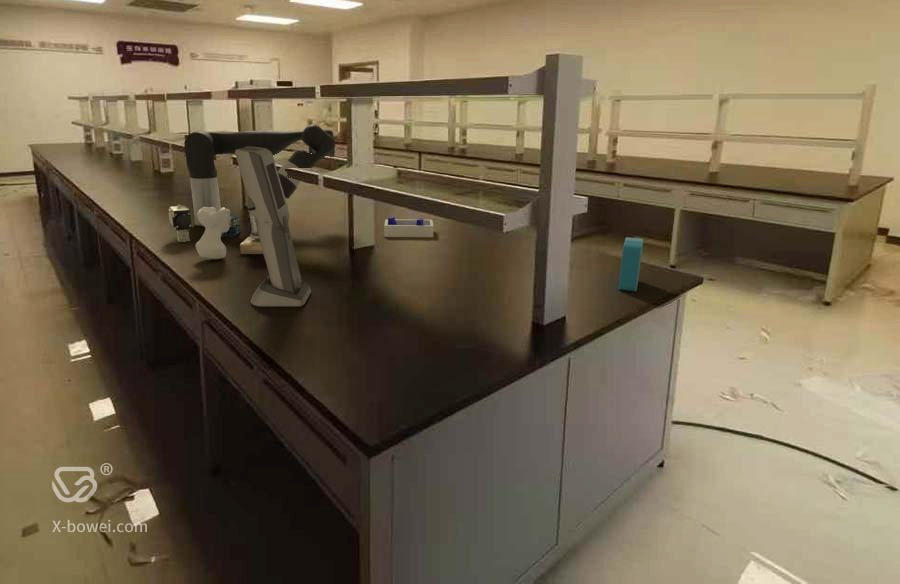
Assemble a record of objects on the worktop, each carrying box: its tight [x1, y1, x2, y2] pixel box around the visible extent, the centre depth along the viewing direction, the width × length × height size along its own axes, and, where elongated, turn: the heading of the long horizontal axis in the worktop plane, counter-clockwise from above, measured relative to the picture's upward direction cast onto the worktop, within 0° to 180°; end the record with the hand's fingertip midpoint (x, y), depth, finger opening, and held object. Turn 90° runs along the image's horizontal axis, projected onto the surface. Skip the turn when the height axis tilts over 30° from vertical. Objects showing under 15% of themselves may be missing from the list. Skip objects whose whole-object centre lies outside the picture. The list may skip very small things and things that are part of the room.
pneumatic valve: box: [168, 204, 193, 243], centre depth 188 cm, size 6×12×12 cm, turn 32°
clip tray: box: [383, 218, 434, 238], centre depth 207 cm, size 11×17×4 cm, turn 94°
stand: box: [239, 236, 264, 255], centre depth 181 cm, size 10×10×3 cm
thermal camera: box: [234, 146, 312, 308], centre depth 133 cm, size 12×13×35 cm
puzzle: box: [221, 215, 242, 237], centre depth 199 cm, size 6×6×6 cm
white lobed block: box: [195, 207, 231, 260], centre depth 168 cm, size 10×11×15 cm
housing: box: [249, 214, 260, 239], centre depth 178 cm, size 6×6×12 cm
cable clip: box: [387, 216, 424, 225], centre depth 206 cm, size 12×4×6 cm, turn 78°
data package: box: [618, 237, 644, 292], centre depth 152 cm, size 12×4×12 cm, turn 161°
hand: (253, 222), depth 178 cm, fingers closed on housing, 5 cm apart
